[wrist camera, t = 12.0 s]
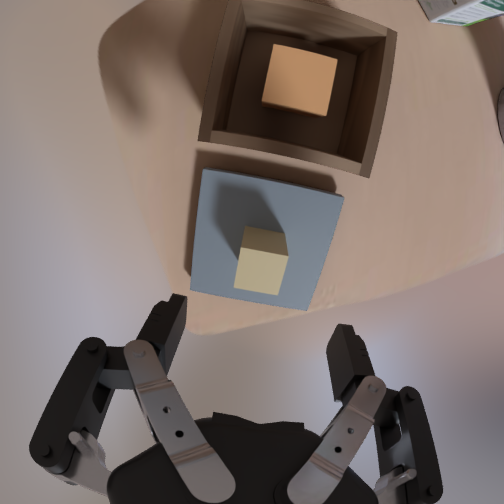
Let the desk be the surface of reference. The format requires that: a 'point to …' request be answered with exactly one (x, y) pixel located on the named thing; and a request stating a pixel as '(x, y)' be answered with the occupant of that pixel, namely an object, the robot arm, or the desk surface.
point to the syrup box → (462, 11)
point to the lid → (261, 238)
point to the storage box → (292, 124)
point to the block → (299, 81)
